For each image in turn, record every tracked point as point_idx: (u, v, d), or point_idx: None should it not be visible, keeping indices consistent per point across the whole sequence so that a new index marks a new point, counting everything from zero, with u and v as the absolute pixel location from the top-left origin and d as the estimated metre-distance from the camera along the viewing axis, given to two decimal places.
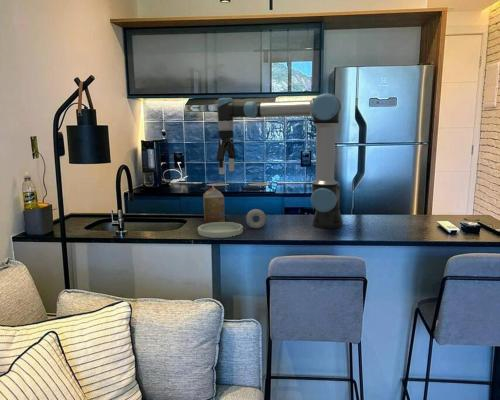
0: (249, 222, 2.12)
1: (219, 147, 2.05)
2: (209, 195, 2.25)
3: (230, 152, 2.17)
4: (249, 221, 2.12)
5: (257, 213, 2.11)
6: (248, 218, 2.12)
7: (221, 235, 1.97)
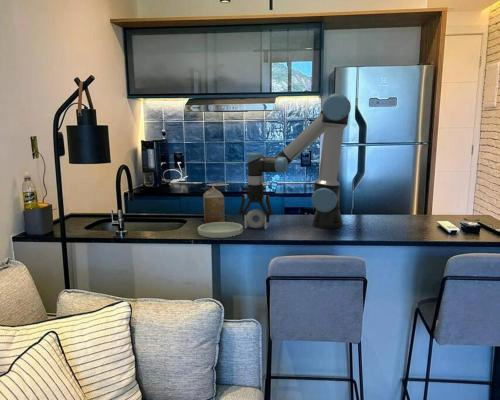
0: (249, 222, 2.12)
1: None
2: (209, 195, 2.25)
3: None
4: (249, 221, 2.12)
5: (257, 213, 2.11)
6: (248, 218, 2.12)
7: (221, 235, 1.97)
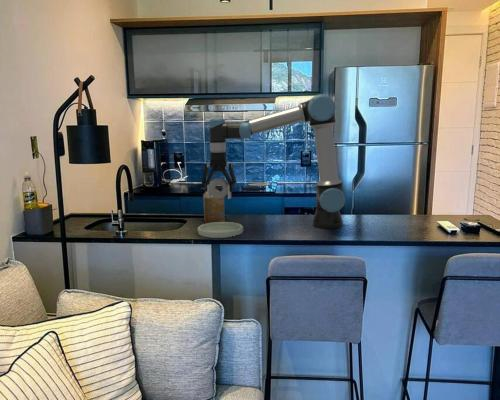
0: (212, 192, 2.03)
1: None
2: None
3: None
4: (212, 190, 2.03)
5: (220, 182, 2.02)
6: (211, 187, 2.03)
7: (221, 235, 1.97)
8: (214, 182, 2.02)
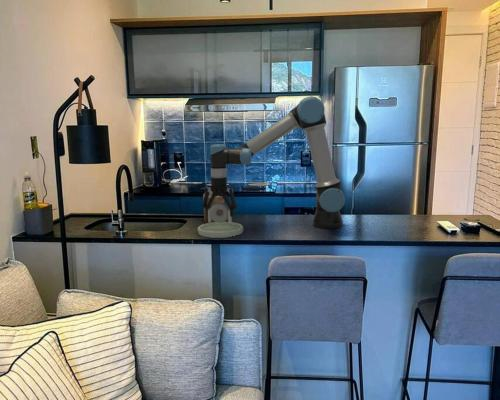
0: (212, 216, 2.05)
1: None
2: (209, 195, 2.25)
3: None
4: (212, 215, 2.05)
5: (221, 207, 2.04)
6: (211, 212, 2.05)
7: (221, 235, 1.97)
8: (215, 207, 2.04)
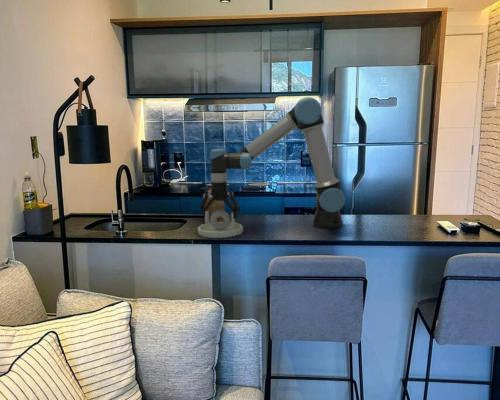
0: (213, 223, 2.06)
1: None
2: (209, 195, 2.25)
3: None
4: (213, 222, 2.06)
5: (221, 214, 2.05)
6: (212, 219, 2.05)
7: (221, 235, 1.97)
8: (215, 214, 2.05)
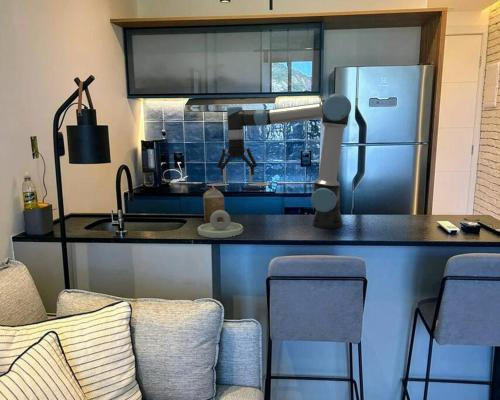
0: (213, 223, 2.06)
1: None
2: (209, 195, 2.25)
3: None
4: (213, 222, 2.06)
5: (221, 214, 2.05)
6: (212, 219, 2.05)
7: (221, 235, 1.97)
8: (215, 214, 2.05)
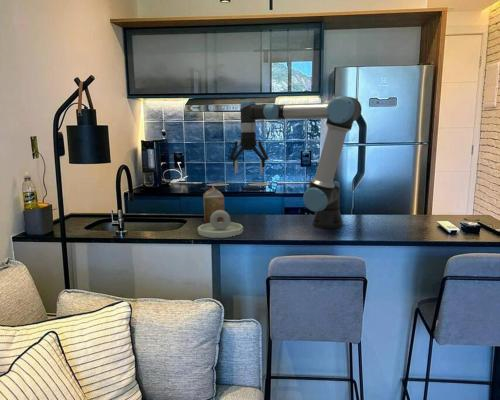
0: (213, 223, 2.06)
1: None
2: (209, 195, 2.25)
3: None
4: (213, 222, 2.06)
5: (221, 214, 2.05)
6: (212, 219, 2.05)
7: (221, 235, 1.97)
8: (215, 214, 2.05)
